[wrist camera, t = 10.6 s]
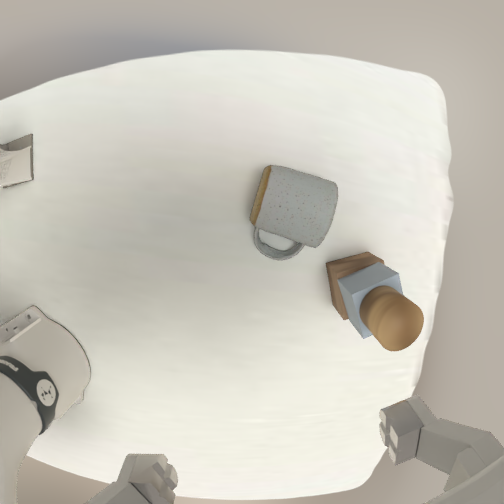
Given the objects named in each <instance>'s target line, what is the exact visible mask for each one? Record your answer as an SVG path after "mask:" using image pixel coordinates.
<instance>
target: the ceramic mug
mask: <svg viewBox="0 0 504 504" xmlns="http://www.w3.org/2000/svg"><path fill="white" fill-rule="evenodd" d="M337 200H338V187H337V185H336V183H334V182H332V181H329V180H325V179H322V178H319V177H316V176H313V175H310V174H306V173H303V172H299V171H296V170H293V169H289V168H286V167H282V166H274V165H270V166H267V167H266V168H265V169H264V171H263V174H262V178H261V181H260V185H259V188H258V191H257V195H256V198H255V201H254V205H253V208H252V212H251V215H250V221H251V223H252V224H253V225H254V226H256V229H255V234H254V240H255V245H256V247H257V248H258V250H259V251H260V252H261V253H262V254H264V255H265V256H267V257H269V258H272V259H275V260H286V259H289V258H292V257H293V256H295V255H296V254H298V253H299V252H300V251H301V250H302V248H303V247H304V246H305V245H307V246H310V247H314V248H316V247H318V246H319V245H320V244H321V243H322V241H323V240H324V238H325V236H326V234H327V232H328V230H329V228H330V225H331V223H332V220H333V216H334V213H335V209H336V205H337ZM259 228H260V229H262V230H264V231H267V232H270V233H273V234H277V235H280V236H283V237H285V238H288V239H291V240H293V241H296V242H299V243H298V244H297V245H296V246H295V247H294V248H293V249H291V250H288V251H278V250H276V249H273V248H271V247H269V246H268V245H267V244H263V243H262V242H261V240H260V238H259Z"/></svg>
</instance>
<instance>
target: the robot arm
mask: <svg viewBox="0 0 504 504" xmlns="http://www.w3.org/2000/svg"><path fill="white" fill-rule="evenodd" d="M89 380H90V366H89V363H88V360H87V357H86V355H85V353H84V351H83V349H82V348H81V346H80V345H79V343H78V342H77V341H76V339H75V338H74V337H73V336H72V335H71V334H70V333H69V332H68V331H67V330H66V329H64V328H63V327H62V326H60V325H59V324H57V323H55V322H53V321H52V320H50V319H48V318H47V317H46V316H45V315H44V314H43V313H42V312H41V311H40V310H39V309H38V308H36V307H35V306H31V307H30V308H28V309H27V310H25V311H24V312H22V313H21V314H19V315H18V316H16V317H15V318H13V319H12V320H10V321H9V322H7V323H6V324H4V325H3V326H2V327H0V504H18V503H17V491H16V490H17V477H18V472H19V469H20V466H21V463H22V461H23V459H24V457H25V456H26V454H27V452H28V450H29V449H30V447H31V445H32V444H33V442H34V441H35V439H36V438H37V436H38V435H40V434H42V433H43V432H44V431H45V430H46V429H48V427H49V426H50V425H51V422H52V421H53V420H59V419H60V418H61V417H62V416H63V415H64V414H65V413H66V411H67V410H68V409H69V408H70V407H71V406H72V405H73V404H80V403H81V402H82V401H83V391H84V389H85V388H86V386H87V385H88V383H89ZM379 417H380V419H381V423H380V424H379V428H380V435H381V438H382V441H383V443H384V445H385V446H387V447H389V455H390V457H391V459H392V461H393V463H394V465H398V464H400V463H403V462H405V461H407V460H410V459H412V458H415V457H416V458H417V459H419V460H421V461H423V462H425V463H426V464H428V465H430V466H432V467H434V468H437V469H438V470H440V471H443V472H445V473H447V474H449V475H450V476H449V478H448V480H447V483H446V485H445V487H444V491H445V493H443V494H441V495H439V496H437V497H435V498H433V499H431V500H429V501H427V502H425V503H423V504H504V448H503V446H502V445H501V444H500V443H499V441H498V440H497V439H496V438H495V437H494V436H493V434H492V433H491V432H488V431H484V430H480V429H477V428H473V427H469V426H465V425H462V424H459V423H455V422H452V421H448V420H445V419H442V418H440V419H438V420H437V418H436V417H435V416H434V414H432V412H431V410H430V409H429V408H428V407H427V405H426V404H425V403H424V401H423V400H422V399H421V398H420V396H419V395H414V396H412V397H410V398H408V399H405V400H403V401H400V402H398V403H396V404H393V405H391V406H388V407H386V408H383V409H381V410H380V412H379ZM167 461H168V459H167V458H166V456H165V455H164V454H128V455H127V456H126V458H125V461H124V463H123V466H122V469H121V471H120V474H119V476H118V479H117V482H112V483H111V484H110V485H109V486H107V487H106V488H105V489H103V490H102V491H101V492H99V493H98V494H97V495H95V496H94V497H93V498H91V499H90V500H89V501H87V502H86V503H84V504H174V499H175V493H174V492H173V489H174V488H175V487H177V483H178V477H177V473H176V470H175V468H174V467H173V466H172V465H170V464H168V463H167Z"/></svg>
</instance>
